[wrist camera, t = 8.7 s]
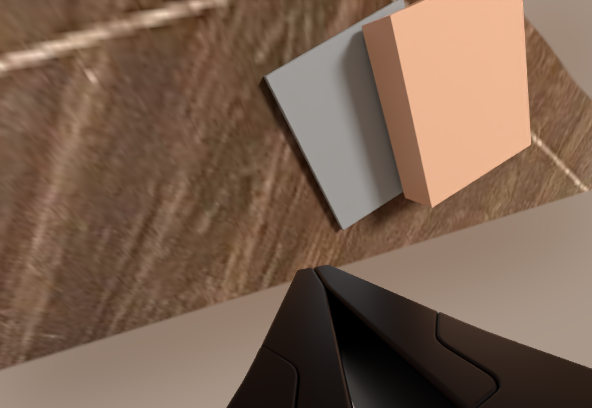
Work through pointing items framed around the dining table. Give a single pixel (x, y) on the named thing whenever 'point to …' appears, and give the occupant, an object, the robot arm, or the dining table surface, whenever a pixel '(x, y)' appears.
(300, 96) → the mat
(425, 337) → the robot arm
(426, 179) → the peach rectangular block
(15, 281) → the dining table surface
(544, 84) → the dining table surface
